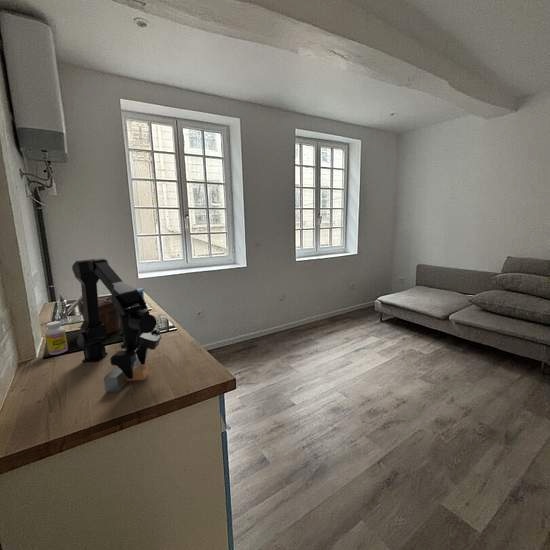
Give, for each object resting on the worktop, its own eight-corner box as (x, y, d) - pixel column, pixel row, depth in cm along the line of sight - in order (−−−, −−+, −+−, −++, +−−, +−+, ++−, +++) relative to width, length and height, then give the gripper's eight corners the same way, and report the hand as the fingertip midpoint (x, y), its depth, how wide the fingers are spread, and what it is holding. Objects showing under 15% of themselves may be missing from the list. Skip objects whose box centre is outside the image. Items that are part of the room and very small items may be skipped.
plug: (113, 381, 95) (112, 373, 94) (119, 375, 98) (118, 367, 98) (144, 379, 95) (143, 371, 95) (148, 373, 99) (147, 365, 98)
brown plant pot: (135, 326, 147) (129, 292, 143) (94, 341, 130) (87, 303, 127) (116, 322, 156) (111, 290, 153) (76, 335, 140) (68, 300, 137)
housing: (105, 392, 89) (103, 378, 88) (130, 366, 104) (128, 354, 103) (118, 391, 89) (116, 377, 88) (141, 366, 104) (139, 353, 104)
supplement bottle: (53, 356, 116) (46, 326, 114) (46, 353, 119) (40, 324, 117) (71, 350, 121) (66, 321, 119) (64, 347, 125) (59, 319, 123)
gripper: (143, 337, 84) (150, 385, 87) (165, 316, 103) (170, 357, 106) (105, 339, 84) (113, 387, 87) (134, 318, 103) (140, 358, 105)
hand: (137, 371), depth 96 cm, fingers open, 9 cm apart
